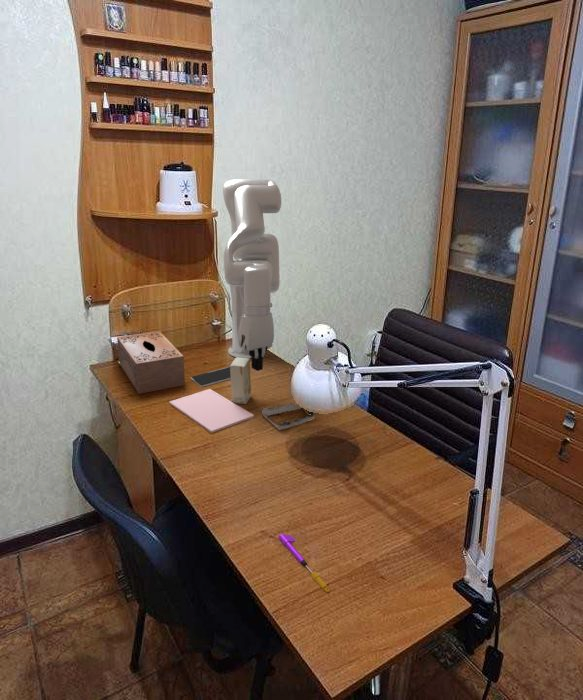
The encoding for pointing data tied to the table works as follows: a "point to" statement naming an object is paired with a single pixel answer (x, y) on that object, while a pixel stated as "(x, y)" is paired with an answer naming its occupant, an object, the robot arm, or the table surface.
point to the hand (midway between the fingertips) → (257, 368)
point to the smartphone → (212, 377)
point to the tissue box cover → (151, 361)
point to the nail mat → (211, 410)
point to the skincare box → (240, 380)
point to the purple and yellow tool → (301, 559)
